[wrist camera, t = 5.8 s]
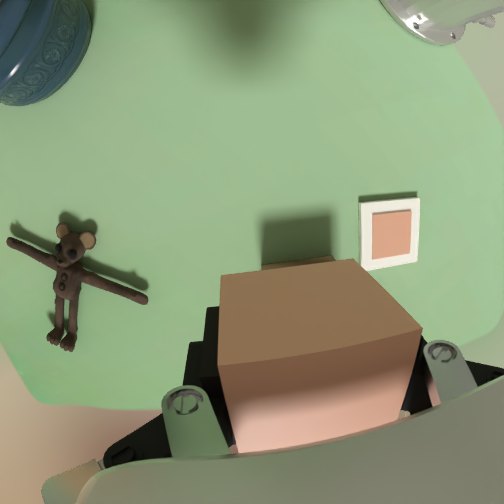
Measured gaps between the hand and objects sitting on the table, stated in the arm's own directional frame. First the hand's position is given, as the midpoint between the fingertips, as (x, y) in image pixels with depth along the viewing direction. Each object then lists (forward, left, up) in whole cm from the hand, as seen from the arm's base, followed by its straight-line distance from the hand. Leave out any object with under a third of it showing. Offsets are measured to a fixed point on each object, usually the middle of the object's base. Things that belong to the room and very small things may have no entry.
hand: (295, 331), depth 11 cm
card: (-14, +3, -17) cm, 22 cm away
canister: (+19, -22, -18) cm, 35 cm away
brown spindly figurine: (+21, +4, -18) cm, 28 cm away
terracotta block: (0, 0, -1) cm, 1 cm away
